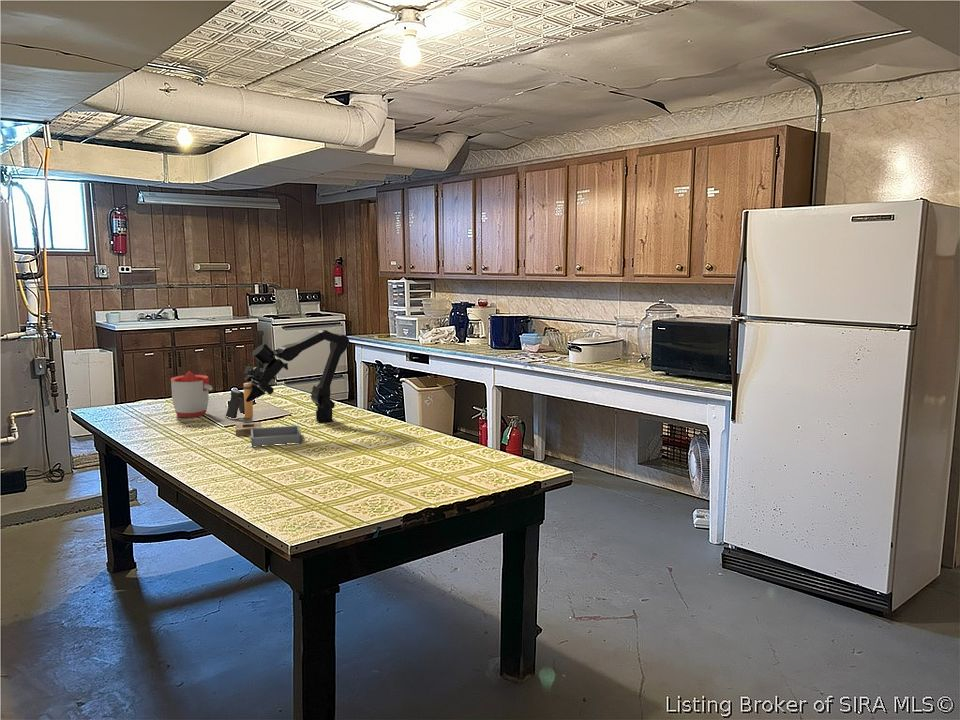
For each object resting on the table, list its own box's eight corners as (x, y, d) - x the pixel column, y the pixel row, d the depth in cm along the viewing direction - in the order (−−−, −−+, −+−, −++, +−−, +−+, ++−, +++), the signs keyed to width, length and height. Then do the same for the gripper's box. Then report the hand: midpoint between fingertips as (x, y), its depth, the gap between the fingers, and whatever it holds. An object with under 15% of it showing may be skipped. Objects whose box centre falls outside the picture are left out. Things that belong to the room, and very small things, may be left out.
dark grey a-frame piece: (232, 420, 302) (231, 393, 300) (225, 417, 306) (224, 391, 304) (251, 416, 308) (250, 390, 306) (244, 414, 312) (243, 388, 310)
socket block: (261, 427, 290) (260, 421, 290) (261, 434, 281) (261, 428, 281) (235, 429, 287) (235, 423, 287) (235, 435, 278) (235, 429, 278)
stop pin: (253, 415, 284) (251, 382, 282) (253, 417, 281) (252, 384, 279) (244, 416, 283) (243, 382, 281) (244, 418, 280) (243, 384, 278)
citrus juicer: (206, 419, 302) (204, 374, 298) (166, 419, 302) (163, 374, 298) (219, 411, 317) (217, 368, 314) (181, 410, 317) (179, 367, 314)
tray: (298, 433, 282) (298, 425, 282) (301, 443, 269) (301, 435, 268) (250, 437, 276) (250, 428, 276) (251, 447, 263) (251, 438, 262)
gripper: (248, 355, 288) (222, 384, 283) (264, 362, 274) (238, 392, 269) (267, 372, 294) (242, 400, 289) (284, 379, 280) (258, 409, 275)
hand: (245, 400), depth 280 cm, fingers closed on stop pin, 3 cm apart
